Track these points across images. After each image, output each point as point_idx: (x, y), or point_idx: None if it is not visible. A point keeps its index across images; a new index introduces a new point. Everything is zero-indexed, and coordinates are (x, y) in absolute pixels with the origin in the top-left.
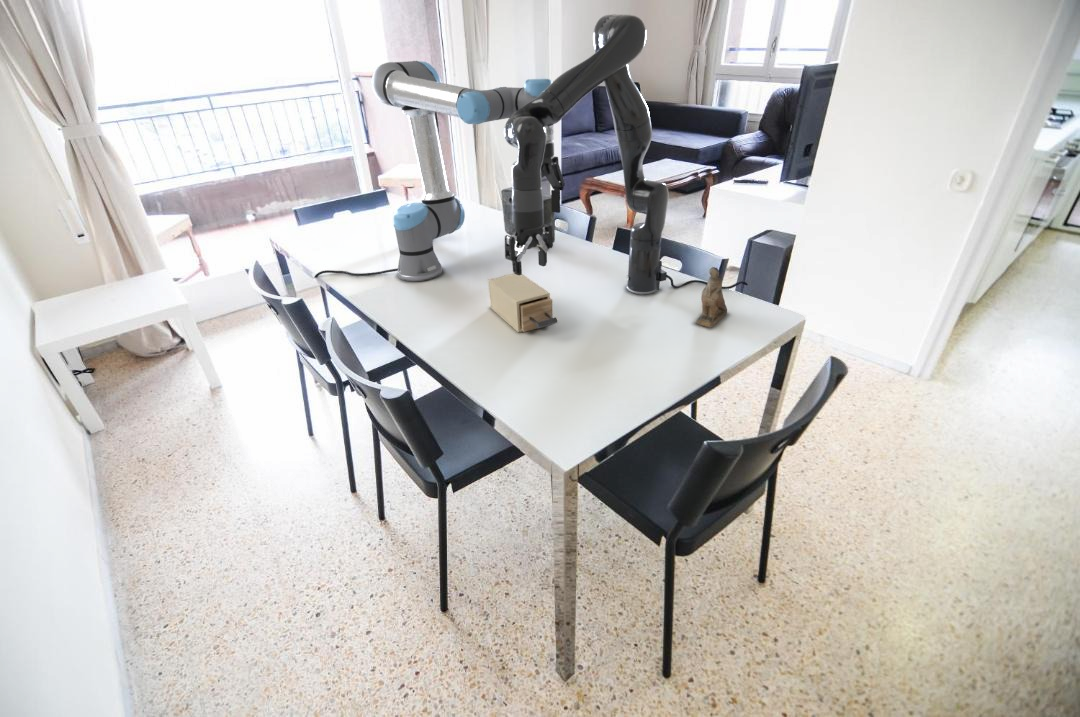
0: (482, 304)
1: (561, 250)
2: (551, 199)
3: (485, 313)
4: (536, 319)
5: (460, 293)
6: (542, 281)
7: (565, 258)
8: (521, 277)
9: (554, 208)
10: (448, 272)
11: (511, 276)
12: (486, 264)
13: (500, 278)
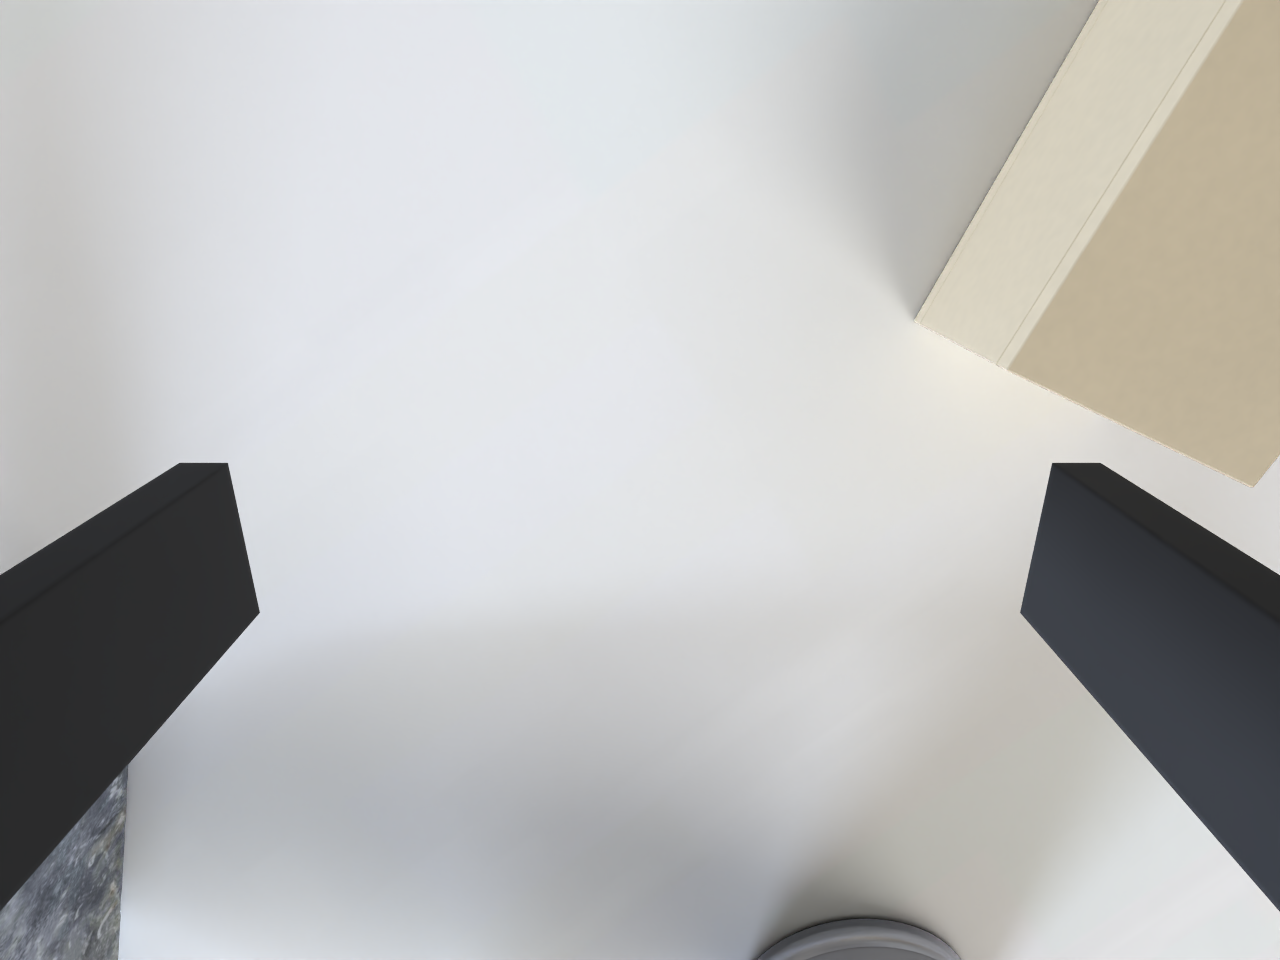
0: None
1: None
2: (118, 773)
3: None
4: None
5: (983, 691)
6: (563, 391)
7: (111, 504)
8: (1116, 273)
9: (211, 589)
10: (763, 913)
11: (1125, 366)
12: (547, 835)
13: (1198, 419)
